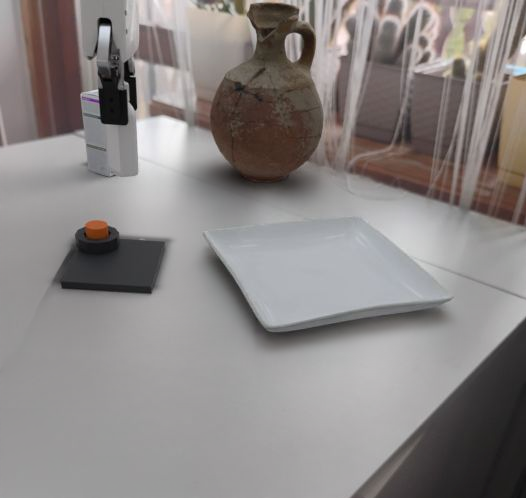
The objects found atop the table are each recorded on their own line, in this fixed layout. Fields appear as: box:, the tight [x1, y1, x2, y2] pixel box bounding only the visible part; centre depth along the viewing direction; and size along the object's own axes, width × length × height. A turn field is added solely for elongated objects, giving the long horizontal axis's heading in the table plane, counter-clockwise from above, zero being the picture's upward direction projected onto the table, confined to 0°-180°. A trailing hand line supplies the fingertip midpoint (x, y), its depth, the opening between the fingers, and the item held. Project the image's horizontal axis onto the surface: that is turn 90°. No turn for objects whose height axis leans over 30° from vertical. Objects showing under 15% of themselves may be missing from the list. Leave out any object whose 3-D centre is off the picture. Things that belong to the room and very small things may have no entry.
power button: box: [84, 219, 109, 239], centre depth 91 cm, size 3×3×2 cm
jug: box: [209, 1, 325, 183], centre depth 117 cm, size 22×22×30 cm
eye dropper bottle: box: [105, 70, 140, 178], centre depth 77 cm, size 4×6×12 cm
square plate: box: [202, 215, 455, 333], centre depth 89 cm, size 27×27×4 cm
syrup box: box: [79, 88, 117, 178], centre depth 117 cm, size 6×6×14 cm
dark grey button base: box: [60, 225, 166, 295], centre depth 89 cm, size 12×14×3 cm
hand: (119, 115), depth 77 cm, fingers closed on eye dropper bottle, 5 cm apart
